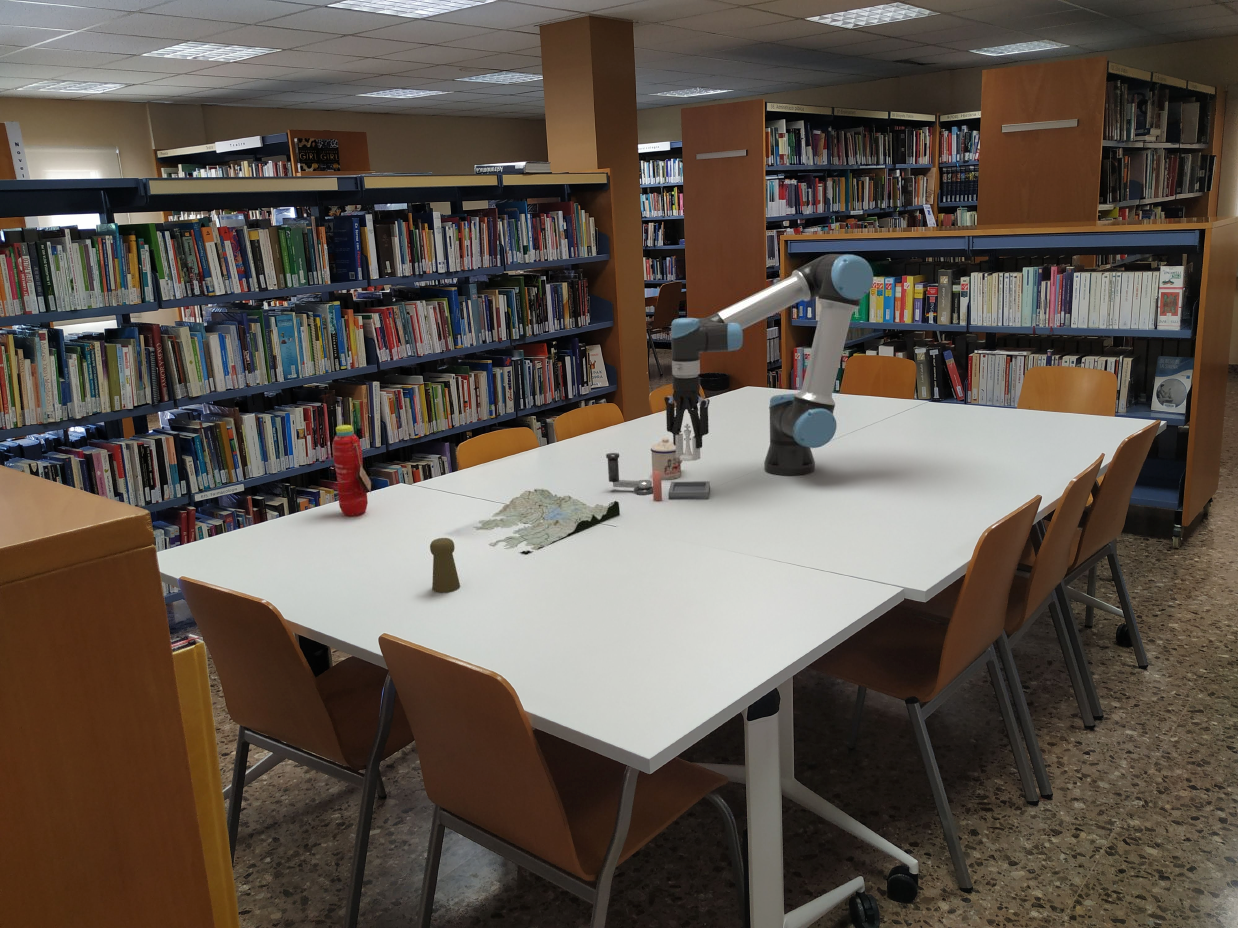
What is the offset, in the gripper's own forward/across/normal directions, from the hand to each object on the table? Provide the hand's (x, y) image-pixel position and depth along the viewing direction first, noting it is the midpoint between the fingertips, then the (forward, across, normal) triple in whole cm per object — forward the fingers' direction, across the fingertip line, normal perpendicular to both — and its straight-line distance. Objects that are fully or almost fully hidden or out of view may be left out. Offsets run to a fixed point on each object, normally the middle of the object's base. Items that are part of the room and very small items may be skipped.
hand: (688, 458), depth 260 cm
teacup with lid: (+11, -16, +14) cm, 24 cm away
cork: (+11, -7, -85) cm, 86 cm away
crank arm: (+9, -16, -6) cm, 20 cm away
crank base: (+10, -12, -5) cm, 17 cm away
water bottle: (+11, -70, -60) cm, 93 cm away
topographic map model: (+12, -20, -42) cm, 49 cm away
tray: (+10, 0, 0) cm, 10 cm away
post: (+10, -4, -9) cm, 15 cm away
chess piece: (0, 0, 0) cm, 0 cm away
